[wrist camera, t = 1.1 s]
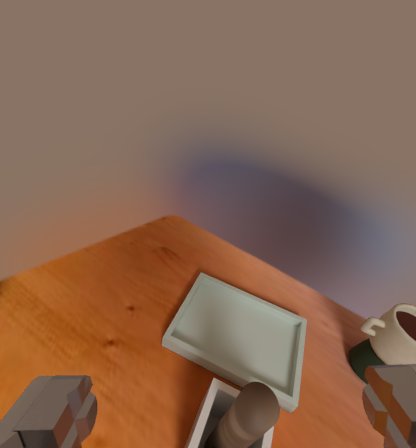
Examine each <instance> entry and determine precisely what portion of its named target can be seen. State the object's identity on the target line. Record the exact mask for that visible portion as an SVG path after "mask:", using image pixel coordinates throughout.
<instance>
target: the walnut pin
mask: <svg viewBox="0 0 416 448" xmlns="http://www.w3.org/2000/svg"><path fill="white" fill-rule="evenodd" d="M279 413H280V408H279V402H278V399H277V397H276V395H275V394H274V392H273V391H272V390H271V389H270V388H269V387H268V386H267V385H265V384H264V383H261V382H250V383H248V384H247V385H245V386H244V388H243V389H242V390H241V392H240V393H239V395H238V396H237V397H236V399H235V400H234V402H233V403H232V404H231V406H230V407H229V409H228V410H227V411H226V413H225V414H224V416H223V417H222V418H221V420H220V421H219V423H218V424H217V425H216V427H215V428H214V430H213V431H212V432H211V434H210V435H209V437H208V438H207V440H206V442H205V445H204V448H248V447H249V446H250V445H251V444H253V443H254V442H255V441H256V440H257V439H259V438H260V437H261V436H262V435H263V434H265V433H266V432H267V431H268V430H269V429H271V428H272V427H273V426H274V425H275V424H276V423H277V421H278V418H279Z"/></svg>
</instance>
